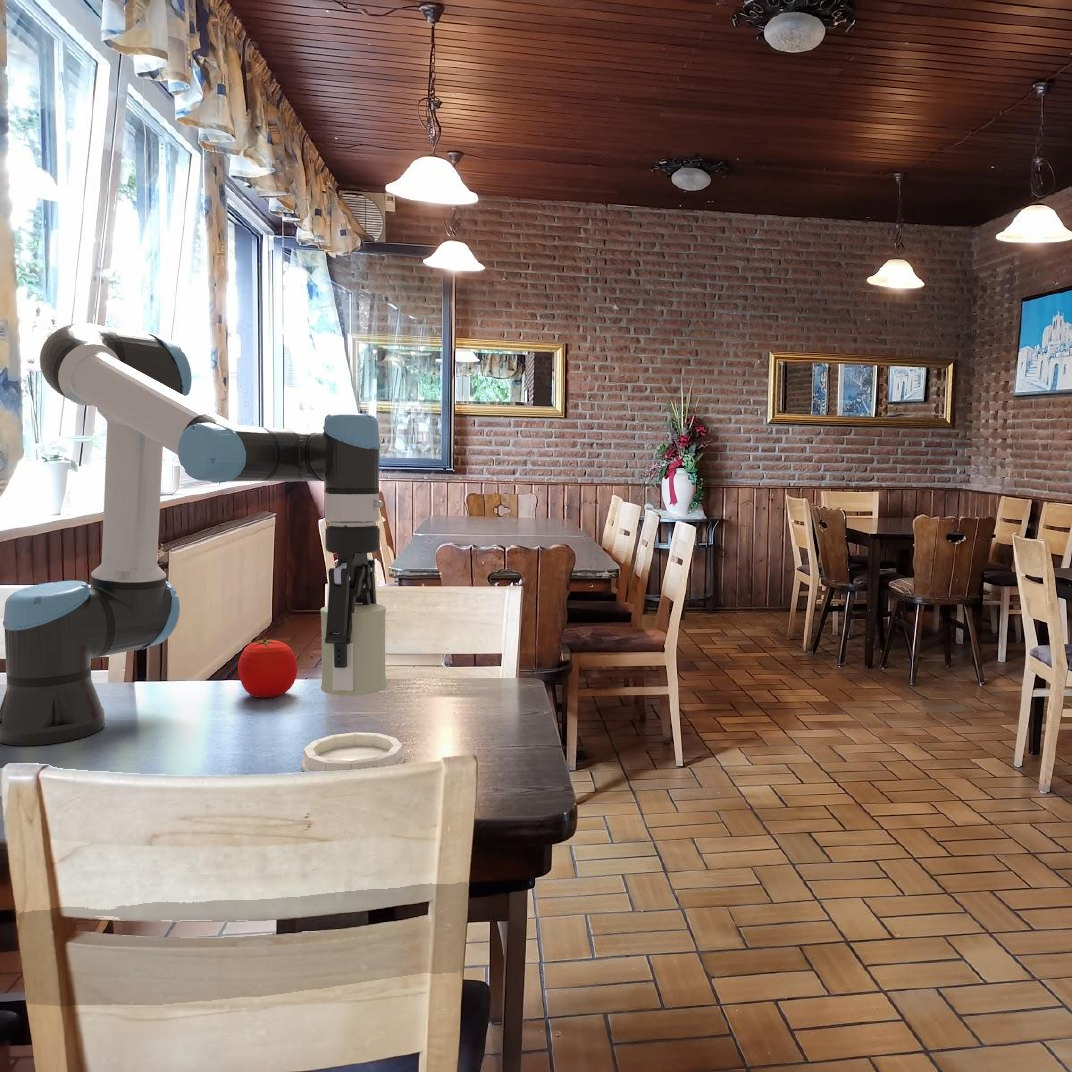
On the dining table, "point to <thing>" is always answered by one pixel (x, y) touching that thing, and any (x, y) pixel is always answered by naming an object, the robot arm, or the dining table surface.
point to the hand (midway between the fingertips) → (353, 681)
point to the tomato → (267, 668)
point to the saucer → (352, 752)
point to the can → (359, 651)
